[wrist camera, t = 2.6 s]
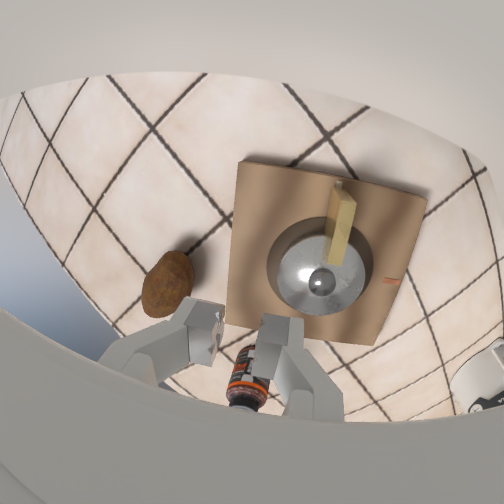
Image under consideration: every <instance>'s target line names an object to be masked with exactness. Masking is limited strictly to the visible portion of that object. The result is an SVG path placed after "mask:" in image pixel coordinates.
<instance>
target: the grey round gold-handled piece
mask: <svg viewBox="0 0 504 504" xmlns="http://www.w3.org/2000/svg"><path fill="white" fill-rule="evenodd" d="M356 205H357V203H356V202H355V200H354V199H353V198H352V197H351V196H350V194H349V193H348V192H347V191H346V189H341V188H336V187H333V189H332V194H331V200H330V205H329V210H328V215H327V220H326V225H325V229H324V231H318V232H312V233H308V234H305V235H303V236H301V237H299V238H297V239H296V240H295V241H293V242H292V243H291V244H290V245H289V246H288V247H287V248H286V250H285V251H284V253H283V255H282V257H281V259H280V263H279V268H278V275H277V283H278V288H279V291H280V293H281V295H282V297H283V298H284V300H285V301H286V302H287V303H288V304H289V305H290V306H291V307H293V308H294V309H296V310H297V311H300V312H302V313H305V314H308V315H314V316H325V315H331V314H334V313H337V312H340V311H342V310H344V309H345V308H347V307H348V306H350V305H351V304H352V303H353V302H354V301H355V300H356V299H357V297H358V296H359V295H360V293H361V291H362V289H363V286H364V282H365V268H364V264H363V261H362V259H361V257H360V255H359V253H358V251H357V249H356V248H355V246H354V245H353V244H352V243H351V242H350V241H349V240H348V239H349V235H350V231H351V227H352V222H353V218H354V214H355V209H356Z"/></svg>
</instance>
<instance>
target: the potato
mask: <svg viewBox="0 0 504 504" xmlns="http://www.w3.org/2000/svg"><path fill="white" fill-rule="evenodd" d="M193 282H194V273H193V267H192V264H191V261H190V260H189V258H188V257H187V256H186V255H185V254H183V253H181V252H179V251H168V252H167V253H165V254H164V255H163V257H162V258H161V259H160V260H159V261H158V263H157V264H156V265H155V266H154V267H153V268H152V270H150V271H149V273H148V274H147V275H146V277H145V279H144V283H143V288H142V296H141V299H142V305H143V309H144V312H145V313H146V314H147V315H148V316H150V317H153V318H162V317H166V316H168V315H170V314H172V313H174V312H175V311H176V310H177V308H178V307H179V305H180V304H181V302H182V301H183V299H184V298H185V297H187V296H188V297H190V295H191V291H192V287H193Z"/></svg>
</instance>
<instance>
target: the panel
mask: <svg viewBox="0 0 504 504" xmlns="http://www.w3.org/2000/svg"><path fill="white" fill-rule="evenodd" d="M333 187H336V188H341V189H346V191H347V192H348V193H349V194H350V196H351V197H352V198H353V199H354V200H355V202H356V203H357V205H356V209H355V214H354V218H353V222H352V227H351V231H350V235H349V239H348V240H349V241H350V242H351V243H352V244H353V245H354V246H355V248H356V249H357V251H358V253H359V255H360V257H361V259H362V261H363V264H364V268H365V282H364V286H363V289H362V291H361V293H360V295H359V296H358V297H357V299H356V300H355V301H354V302H353V303H352V304H351V305H350V306H348V307H347V308H345V309H344V310H342V311H340V312H337V313H334V314H331V315H325V316H314V315H308V314H305V313H302V312H300V311H297V310H296V309H294V308H293V307H291V306H290V305H289V304H288V303H287V302H286V301H285V300H284V298H283V297H282V295H281V293H280V291H279V288H278V283H277V275H278V268H279V263H280V259H281V257H282V255H283V253H284V251H285V250H286V248H287V247H288V246H289V245H290V244H291V243H292V242H293V241H295V240H296V239H297V238H299V237H301V236H303V235H305V234H308V233H312V232H318V231H324V229H325V225H326V220H327V215H328V210H329V205H330V200H331V194H332V189H333ZM427 201H428V200H427V199H425V198H423V197H422V196H419V195H416V194H412V193H409V192H405V191H401V190H397V189H394V188H390V187H386V186H382V185H378V184H374V183H369V182H365V181H361V180H356V179H351V178H347V177H342V176H337V175H332V174H327V173H322V172H316V171H311V170H305V169H299V168H293V167H286V166H280V165H273V164H265V163H258V162H250V161H240V162H238V170H237V181H236V191H235V202H234V213H233V225H232V237H231V249H230V261H229V274H228V288H227V302H226V317H225V324H230V325H235V326H240V327H245V328H250V329H255V330H259V327H260V324H261V318H262V314H263V313H269V314H275V315H281V316H287V317H297V318H303V319H304V338H310V339H317V340H324V341H332V342H340V343H349V344H358V345H369V346H373V345H374V343H375V341H376V339H377V337H378V335H379V333H380V331H381V329H382V327H383V325H384V322H385V320H386V318H387V316H388V314H389V311H390V309H391V307H392V304H393V302H394V300H395V297H396V295H397V292H398V290H399V288H400V285H401V282H402V280H403V277H404V275H405V272H406V269H407V266H408V264H409V261H410V258H411V255H412V252H413V249H414V246H415V243H416V240H417V237H418V233H419V230H420V227H421V223H422V220H423V216H424V212H425V209H426V205H427Z"/></svg>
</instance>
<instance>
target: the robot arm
mask: <svg viewBox="0 0 504 504" xmlns="http://www.w3.org/2000/svg"><path fill="white" fill-rule="evenodd" d="M224 315H225V305H223V304H218V303H214V302H210V301H206V300H201V299H197V298H192V297H188V296H187V297H185V298H184V299H183V301H182V302H181V304H180V305H179V307H178V308H177V310H176V311H175V313H174V314H173V316H172V317H171V319H170V320H169V321H167V320H165V321H162V322H160V323H158V324H155V325H153V326H150V327H148V328H145V329H143V330H141V331H138V332H136V333H133V334H131V335H128V336H126V337H123V338H121V339H118V340H116V341H114V342H113V343H112V344H111V345H110V346H109V348H108V349H107V350H106V351H105V353H104V354H103V355H102V357H101V358H100V359H99V361H98V362H94V361H92V360H90V359H88V358H86V357H84V356H82V355H80V354H78V353H76V352H74V351H72V350H70V349H68V348H66V347H64V346H62V345H60V344H59V343H57V342H55V341H53V340H51V339H50V338H48V337H46V336H44V335H43V334H41V333H39V332H38V331H36V330H34V329H33V328H31V327H30V326H28V325H26V324H25V323H23V322H22V321H20V320H19V319H17V318H16V317H14V316H13V315H11V314H10V313H8V312H7V311H6V310H4V309H3V308H1V307H0V504H504V339H501V338H499V339H497V340H496V341H494V342H493V343H492V344H491V345H490V346H489V347H488V348H486V349H485V350H483V351H481V352H480V353H478V354H476V355H475V356H474V357H472V358H471V359H470V360H468V361H467V362H466V363H465V364H464V365H463V366H462V367H461V368H460V369H459V370H458V372H457V373H456V374H455V375H454V377H453V379H452V381H451V383H450V390H451V392H452V393H453V400H454V401H455V402H457V403H458V405H459V407H460V409H461V411H462V413H463V414H461V415H455V416H448V417H441V418H433V419H424V420H413V421H397V422H344V404H343V393H342V392H341V390H340V389H339V388H338V387H337V386H336V384H335V383H334V382H333V381H332V379H331V378H330V377H329V376H328V375H327V373H326V372H325V371H324V370H323V368H322V367H321V366H320V365H319V363H318V362H317V361H316V360H315V358H314V357H313V356H312V355H311V353H310V352H309V351H308V350H307V349H303V341H304V319H303V318H297V317H287V316H281V315H275V314H269V313H263V314H262V318H261V324H260V327H259V331H258V336H257V340H256V346H255V351H254V359H253V363H252V369H251V376H256V377H261V378H266V379H271V380H273V382H274V384H275V386H276V388H277V390H278V392H279V394H280V396H281V398H282V400H283V402H284V404H285V405H286V407H285V409H284V412H283V414H282V416H277V415H270V414H264V413H258V412H253V411H247V410H242V409H237V408H233V407H228V406H224V405H219V404H215V403H211V402H207V401H203V400H200V399H196V398H192V397H189V396H185V395H182V394H179V393H175V392H172V391H169V390H166V389H163V388H160V387H158V384H159V383H160V382H162V381H163V380H165V379H166V378H168V377H169V376H171V375H172V374H174V373H175V372H177V371H178V370H180V369H181V368H183V367H184V366H186V365H187V364H189V362H192V363H196V364H201V365H205V366H210V367H212V364H213V362H214V359H215V357H216V351H217V347H219V346H220V343H221V341H222V337H223V332H224V322H223V318H224Z"/></svg>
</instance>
